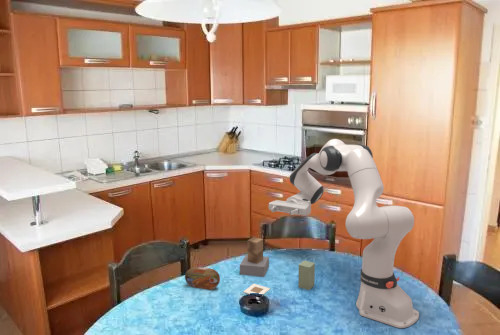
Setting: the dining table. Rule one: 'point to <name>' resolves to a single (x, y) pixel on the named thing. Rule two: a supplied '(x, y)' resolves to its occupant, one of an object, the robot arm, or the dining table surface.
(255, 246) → the walnut block
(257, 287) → the card
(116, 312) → the dining table surface
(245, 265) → the base block
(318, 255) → the dining table surface
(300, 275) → the olive block
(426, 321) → the dining table surface
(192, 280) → the tin
